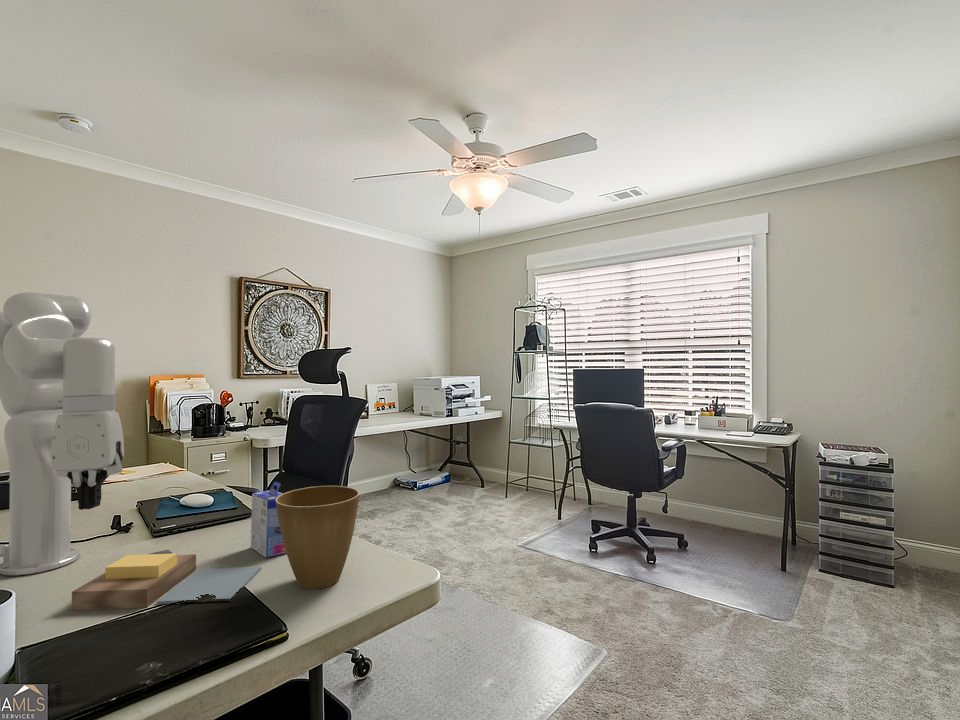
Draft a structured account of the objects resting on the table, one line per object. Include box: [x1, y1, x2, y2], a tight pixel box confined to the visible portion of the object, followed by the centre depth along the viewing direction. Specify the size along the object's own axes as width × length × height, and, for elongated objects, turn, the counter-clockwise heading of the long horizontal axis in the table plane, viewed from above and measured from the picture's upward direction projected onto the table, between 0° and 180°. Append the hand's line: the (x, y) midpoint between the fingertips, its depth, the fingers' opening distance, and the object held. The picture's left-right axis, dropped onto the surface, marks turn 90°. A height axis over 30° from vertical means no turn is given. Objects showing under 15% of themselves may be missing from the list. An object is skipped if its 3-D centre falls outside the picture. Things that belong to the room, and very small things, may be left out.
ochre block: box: [104, 553, 178, 579], centre depth 91 cm, size 9×6×2 cm, turn 93°
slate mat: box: [156, 566, 262, 605], centre depth 91 cm, size 12×14×1 cm
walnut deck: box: [71, 553, 197, 611], centre depth 91 cm, size 12×16×3 cm
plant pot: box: [275, 485, 361, 590], centre depth 93 cm, size 15×15×16 cm
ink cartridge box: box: [250, 481, 287, 558], centre depth 110 cm, size 10×6×14 cm, turn 43°
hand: (89, 507), depth 90 cm, fingers closed
